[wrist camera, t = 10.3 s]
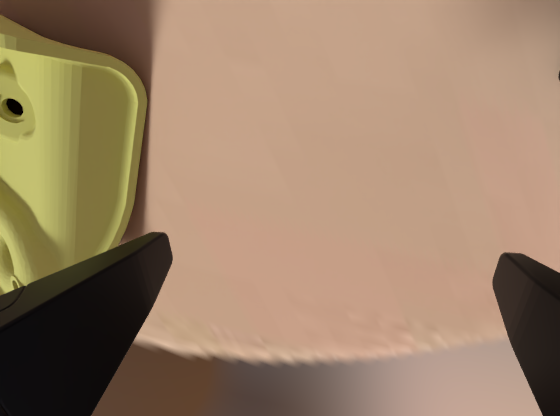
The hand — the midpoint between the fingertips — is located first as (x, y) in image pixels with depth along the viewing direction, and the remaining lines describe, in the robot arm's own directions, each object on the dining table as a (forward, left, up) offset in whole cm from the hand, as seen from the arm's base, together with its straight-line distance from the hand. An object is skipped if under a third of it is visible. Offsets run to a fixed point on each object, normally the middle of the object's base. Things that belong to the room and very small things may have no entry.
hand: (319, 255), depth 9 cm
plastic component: (+20, +2, -12) cm, 24 cm away
